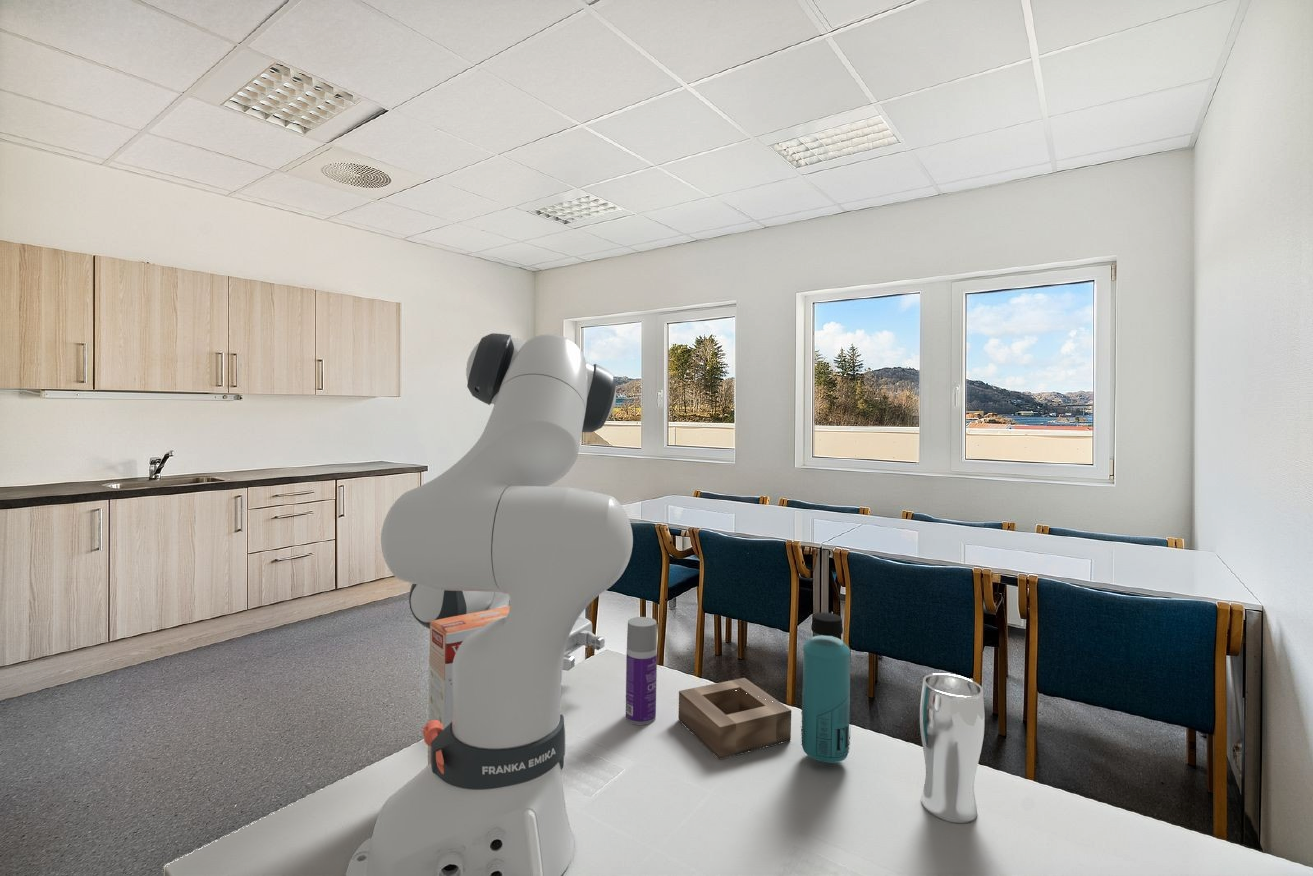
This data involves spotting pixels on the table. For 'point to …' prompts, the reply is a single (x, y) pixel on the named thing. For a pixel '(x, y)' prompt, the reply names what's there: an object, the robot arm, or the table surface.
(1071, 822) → the table surface
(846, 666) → the beverage bottle
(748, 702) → the socket block
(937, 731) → the beer glass
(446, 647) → the cracker box
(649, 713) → the container
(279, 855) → the table surface
